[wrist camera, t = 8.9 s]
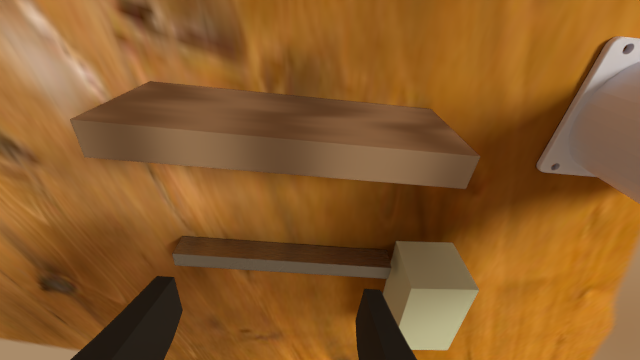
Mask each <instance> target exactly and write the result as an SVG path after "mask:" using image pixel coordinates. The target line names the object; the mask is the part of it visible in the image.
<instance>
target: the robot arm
mask: <svg viewBox="0 0 640 360" xmlns="http://www.w3.org/2000/svg"><path fill="white" fill-rule="evenodd" d="M626 45H627V48H626V49H625V50H624V51H623V48H624V47H625V46H626ZM622 51H623V52H622ZM554 164H555V165H554ZM552 165H554V166H552ZM536 167H537V169H538V170H540V171H541V172H544V173H556V174H567V175H578V176H590V177H598V178H600V179H601V180H603V181H604V182H606V183H608V184H609V185H611V186H612V187H614V188H615V189H617V190H619V191H620V192H622V193H623V194H625V195H627V196H628V197H630V198H631V199H633V200H635V201H636V202H638V203H639V204H640V39H637V38H629V37H621V36H619V37H614V38H612V39H610V40H609V41H608V42H607V43H606V45H605V46H604V48H603V49H602V51H601V53H600V55H599V56H598V58H597V60H596V61H595V63H594V65H593V67H592V68H591V70H590V72H589V74H588V75H587V77H586V79H585V81H584V82H583V84H582V86H581V88H580V89H579V91H578V93H577V95H576V96H575V98H574V100H573V102H572V103H571V105H570V107H569V108H568V110H567V112H566V114H565V115H564V117H563V119H562V121H561V122H560V124H559V126H558V128H557V129H556V131H555V133H554V135H553V136H552V138H551V140H550V142H549V143H548V145H547V147H546V149H545V150H544V152H543V154H542V155H541V157H540V159H539V161H538V162H537V165H536ZM182 311H183V310H182V306H181V302H180V298H179V294H178V290H177V287H176V283H175V279H174V277H162V276H157V277H156V278H154V280H153V281H152V282H151V283H150V284H149V285H148V286H147V287H146V288H145V289H144V290H143V291H142V292H141V293H140V294H139V295H138V296H137V297H136V298H135V299H134V300H133V301H132V302H131V303H130V304H129V305H128V306H127V307H126V308H125V309H124V310H123V311H122V312H121V313H120V314H119V315H118V316H117V317H116V318H115V319H114V320H113V321H112V322H111V323H110V324H109V325H108V326H107V327H105V328H104V329H103V330H102V331H101V332H100V333H99V334H98V335H97V336H96V337H95V338H94V339H93V340H92V341H91V342H89V343H88V344H87V345H86V346H85V347H84V348H83V349H82V350H81V351H79V352H78V353H77V354H76V355H75V356H74V357H73V358H72V359H71V360H164V358H165V356H166V354H167V351H168V349H169V347H170V345H171V343H172V340H173V338H174V335H175V332H176V329H177V326H178V323H179V320H180V317H181V314H182ZM356 337H357V350H358V357H359V360H417V359H416V357H415V355H414V354H413V352H412V350H411V348H410V347H409V345H408V343H407V341H406V339H405V338H404V336H403V334H402V332H401V330H400V328H399V326H398V325H397V323H396V321H395V319H394V317H393V315H392V313H391V311H390V309H389V306H388V304H387V302H386V300H385V298H384V296H383V293H382V292H381V291H380V290H373V289H364V292H363V295H362V299H361V303H360V306H359V310H358V313H357V317H356Z"/></svg>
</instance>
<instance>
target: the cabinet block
mask: <svg viewBox="0 0 640 360" xmlns="http://www.w3.org/2000/svg"><path fill="white" fill-rule="evenodd" d="M391 268H392V269H391V272H390V275H389V278H388V279H387V280H386V284H385V288H384V292H383V296H384V298H385V300H386V302H387V304H388V306H389V309H390V311H391V313H392V315H393V317H394V319H395V321H396V323H397V325H398V326H399V328H400V330H401V332H402V334H403V336H404V338H405V339H406V341H407V343H408V345H409V347H410V348H411V350H448V348H449V346H450V344H451V343H452V341H453V339H454V337H455V335H456V333H457V331H458V329H459V327H460V325H461V323H462V322H463V320H464V318H465V316H466V314H467V312H468V310H469V308H470V306H471V304H472V303H473V301H474V299H475V297H476V295H477V293H478V291H479V289H478V287H477V285H476V284H475V282H474V280H473V278H472V276H471V275H470V273H469V271H468V269H467V267H466V266H465V264H464V262H463V260H462V258H461V257H460V255H459V253H458V251H457V249H456V248H455V246H454V244H453V243H448V242H410V241H396V243H395V247H394V251H393V255H392V259H391Z"/></svg>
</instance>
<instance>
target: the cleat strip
mask: <svg viewBox="0 0 640 360" xmlns="http://www.w3.org/2000/svg"><path fill="white" fill-rule="evenodd" d="M172 254H173V259H174V263H175V265H179V266H195V267H210V268H226V269H242V270H257V271H273V272H289V273H305V274H320V275H336V276H352V277H368V278H383V279H388V278H389V275H390V272H391V269H392V268H391V264H390V260H389V257H388V253H387V250H374V249H360V248H345V247H331V246H317V245H302V244H288V243H273V242H259V241H245V240H230V239H216V238H201V237H187V236H182V238H181V240H180V241H179V243H178V245H177V247H176V248H175V250H174V252H173V253H172Z"/></svg>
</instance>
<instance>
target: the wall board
mask: <svg viewBox="0 0 640 360" xmlns="http://www.w3.org/2000/svg"><path fill="white" fill-rule="evenodd" d="M70 120H71V123H72V126H73V128H74V131H75V134H76V136H77V139H78V142H79V144H80V147H81V149H82V152H83V155H84V157H88V158H100V159H112V160H124V161H136V162H148V163H160V164H172V165H184V166H196V167H208V168H220V169H232V170H244V171H256V172H268V173H280V174H292V175H304V176H316V177H328V178H340V179H352V180H364V181H376V182H388V183H400V184H412V185H424V186H436V187H448V188H460V189H466V188H467V185H468V183H469V181H470V179H471V176H472V174H473V172H474V170H475V167H476V165H477V163H478V161H479V159H480V156H479V155H478V154H477V153H476V152H475V151H474V150H473V149H472V148H471V147H470V146H469V145H468V144H467V143H466V142H465V141H464V140H463V139H462V138H461V137H460V136H458V135H457V134H456V133H455V132H454V131H453V130H452V129H451V128H450V127H449V126H448V125H447V124H446V123H445V122H444V121H443V120H442V119H441V118H440V117H439V116H438V115H437V114H436V113H434V112H433V111H432V110H431V109H424V108H413V107H403V106H393V105H383V104H373V103H363V102H353V101H343V100H333V99H323V98H313V97H302V96H292V95H282V94H272V93H262V92H252V91H242V90H232V89H222V88H212V87H202V86H191V85H181V84H171V83H161V82H151V81H150V82H148V83H146V84H144V85H141V86H139V87H137V88H135V89H133V90H131V91H129V92H127V93H125V94H123V95H120V96H118V97H116V98H114V99H112V100H110V101H108V102H106V103H104V104H102V105H100V106H97V107H95V108H93V109H91V110H89V111H87V112H85V113H83V114H81V115H79V116H76V117H74V118H72V119H70Z"/></svg>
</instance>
